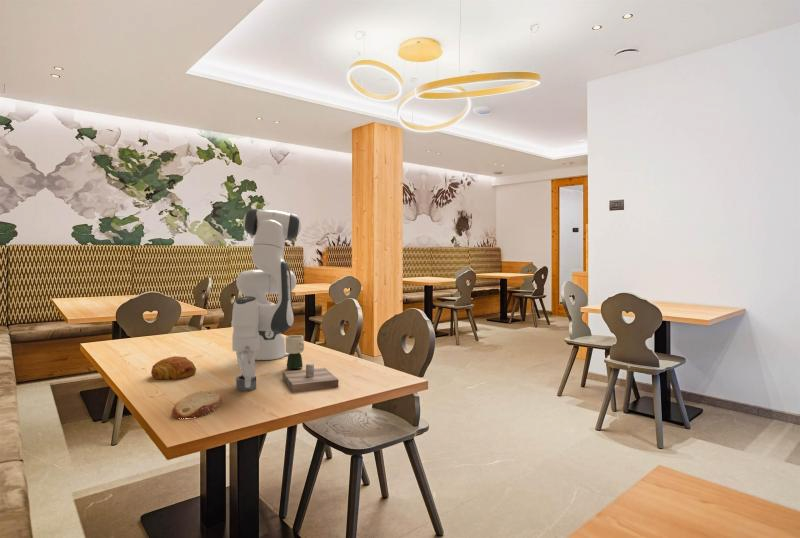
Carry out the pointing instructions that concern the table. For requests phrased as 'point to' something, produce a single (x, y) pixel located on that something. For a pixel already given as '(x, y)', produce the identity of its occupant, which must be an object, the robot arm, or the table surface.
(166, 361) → the croissant
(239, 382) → the steel ring
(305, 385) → the post stand
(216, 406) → the bread slice
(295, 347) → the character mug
